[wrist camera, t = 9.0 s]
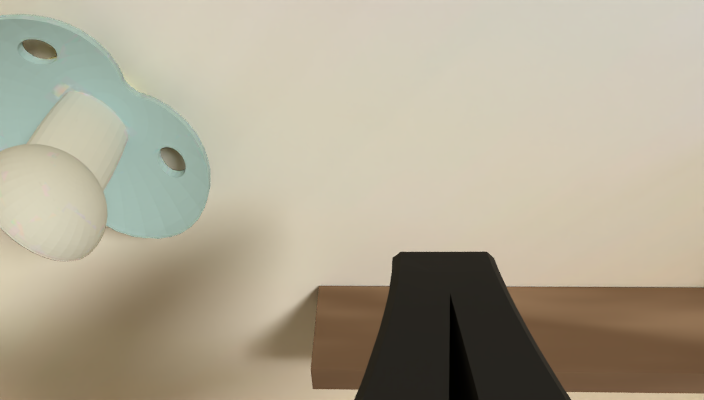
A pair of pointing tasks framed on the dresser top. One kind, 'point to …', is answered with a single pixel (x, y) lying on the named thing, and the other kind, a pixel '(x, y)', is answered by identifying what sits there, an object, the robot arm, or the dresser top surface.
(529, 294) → the open box
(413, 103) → the dresser top surface
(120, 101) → the pacifier
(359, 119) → the dresser top surface
